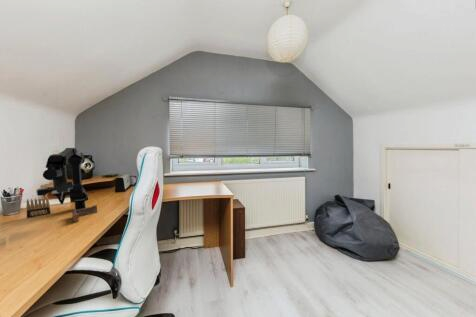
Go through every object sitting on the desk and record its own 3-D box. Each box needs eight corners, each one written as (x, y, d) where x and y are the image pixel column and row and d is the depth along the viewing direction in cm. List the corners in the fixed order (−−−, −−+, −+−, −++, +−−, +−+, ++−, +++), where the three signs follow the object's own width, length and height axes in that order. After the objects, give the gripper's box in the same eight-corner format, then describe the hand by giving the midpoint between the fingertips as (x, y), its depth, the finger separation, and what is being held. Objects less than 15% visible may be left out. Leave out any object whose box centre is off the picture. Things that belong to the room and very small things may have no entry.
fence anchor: (72, 217, 121) (71, 209, 121) (96, 211, 130) (95, 204, 130) (73, 217, 120) (72, 210, 119) (97, 212, 129) (96, 205, 129)
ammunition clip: (26, 218, 121) (24, 199, 120) (27, 217, 122) (25, 199, 121) (50, 214, 127) (48, 196, 126) (50, 213, 129) (49, 196, 128)
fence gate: (74, 222, 112) (73, 215, 112) (72, 217, 120) (72, 210, 119) (78, 221, 114) (78, 214, 113) (76, 217, 121) (76, 209, 121)
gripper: (37, 181, 98) (40, 211, 99) (83, 176, 112) (85, 202, 113) (35, 178, 105) (38, 207, 106) (79, 174, 119) (81, 199, 120)
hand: (61, 204), depth 111 cm, fingers closed
